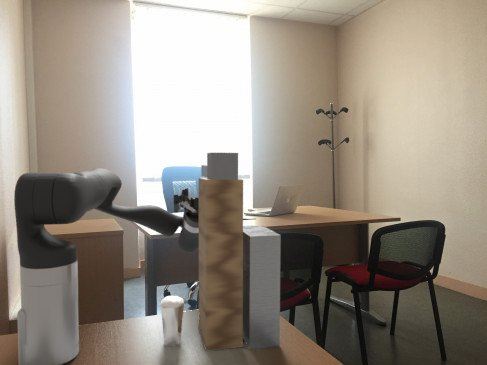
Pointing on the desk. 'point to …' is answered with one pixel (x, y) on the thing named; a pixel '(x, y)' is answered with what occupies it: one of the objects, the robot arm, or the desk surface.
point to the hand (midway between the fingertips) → (204, 190)
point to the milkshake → (172, 319)
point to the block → (221, 166)
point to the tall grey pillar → (261, 287)
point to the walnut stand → (220, 263)
